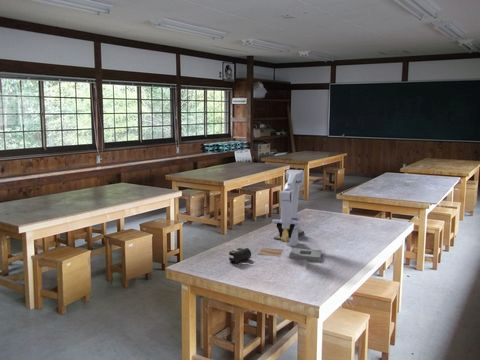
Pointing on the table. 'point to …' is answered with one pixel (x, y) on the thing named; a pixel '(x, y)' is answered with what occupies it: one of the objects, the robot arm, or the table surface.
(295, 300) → the table surface
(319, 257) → the grey square socket plate
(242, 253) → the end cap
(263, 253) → the stand pad
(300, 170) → the robot arm
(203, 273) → the table surface
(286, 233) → the brass peg
